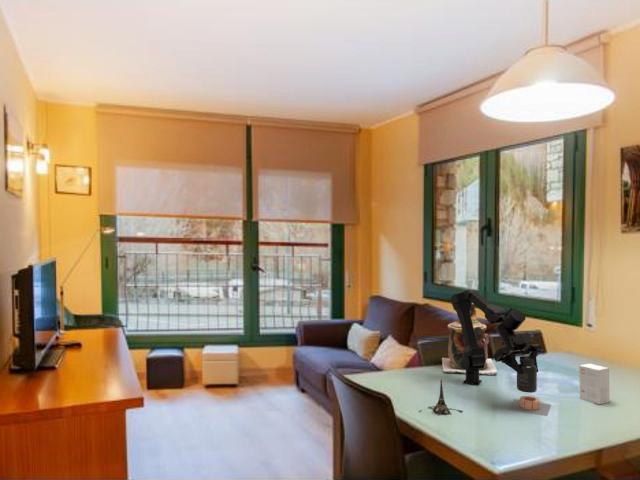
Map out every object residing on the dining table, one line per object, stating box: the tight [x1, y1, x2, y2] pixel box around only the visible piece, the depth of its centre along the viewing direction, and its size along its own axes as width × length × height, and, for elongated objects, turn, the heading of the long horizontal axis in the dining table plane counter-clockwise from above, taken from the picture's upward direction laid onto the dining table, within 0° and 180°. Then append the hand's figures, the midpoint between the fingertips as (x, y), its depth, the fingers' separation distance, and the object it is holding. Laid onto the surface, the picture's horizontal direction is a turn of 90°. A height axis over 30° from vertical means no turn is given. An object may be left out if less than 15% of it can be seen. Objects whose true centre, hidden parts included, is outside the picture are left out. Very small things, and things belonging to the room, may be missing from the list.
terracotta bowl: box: [519, 395, 541, 410], centre depth 176 cm, size 7×7×3 cm
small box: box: [578, 363, 611, 405], centre depth 184 cm, size 8×6×13 cm
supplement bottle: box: [516, 355, 538, 394], centre depth 176 cm, size 7×7×12 cm
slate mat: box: [507, 398, 552, 417], centre depth 176 cm, size 13×13×1 cm
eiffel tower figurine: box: [418, 379, 464, 417], centre depth 173 cm, size 15×10×13 cm
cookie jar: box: [441, 302, 498, 376], centre depth 231 cm, size 25×25×32 cm
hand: (529, 373), depth 175 cm, fingers closed on supplement bottle, 7 cm apart
